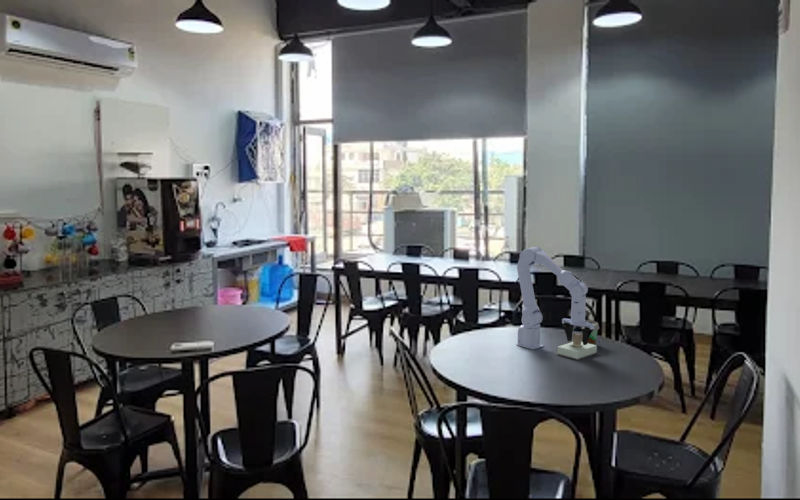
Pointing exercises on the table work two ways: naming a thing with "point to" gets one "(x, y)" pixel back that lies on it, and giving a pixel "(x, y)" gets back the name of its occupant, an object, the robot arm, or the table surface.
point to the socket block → (576, 350)
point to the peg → (577, 340)
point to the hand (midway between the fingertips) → (577, 342)
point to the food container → (593, 335)
